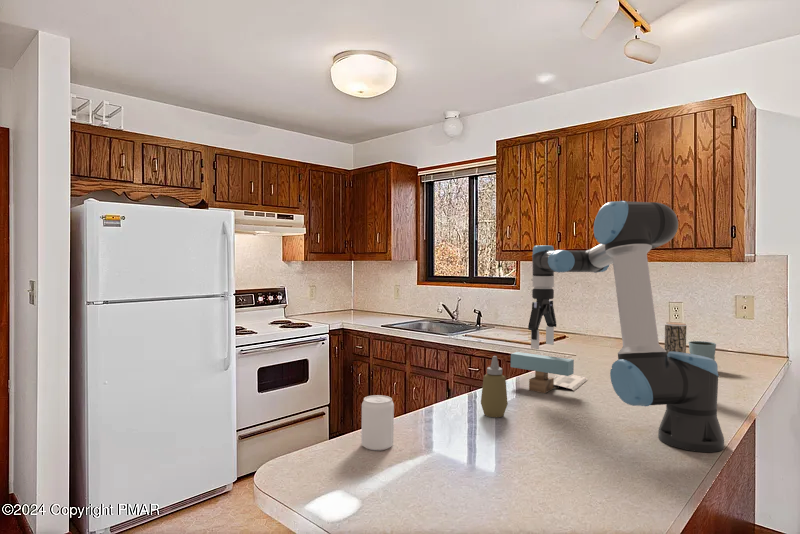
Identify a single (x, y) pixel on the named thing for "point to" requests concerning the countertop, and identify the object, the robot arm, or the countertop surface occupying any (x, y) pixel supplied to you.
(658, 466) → the countertop surface
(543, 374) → the fulcrum
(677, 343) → the bark covered log
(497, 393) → the squeeze bottle
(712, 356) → the grey green cup
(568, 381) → the newspaper
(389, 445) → the beverage can
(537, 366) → the bar
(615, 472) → the countertop surface
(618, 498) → the countertop surface
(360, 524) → the countertop surface
